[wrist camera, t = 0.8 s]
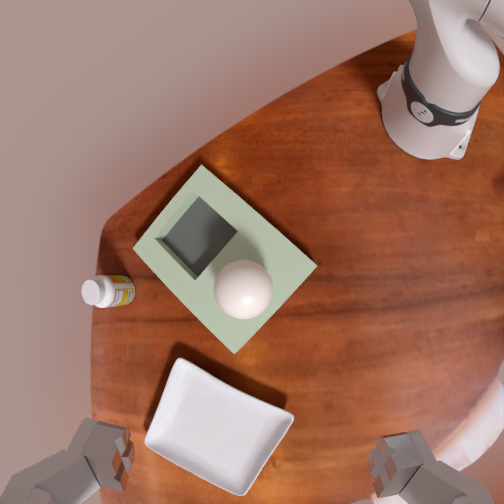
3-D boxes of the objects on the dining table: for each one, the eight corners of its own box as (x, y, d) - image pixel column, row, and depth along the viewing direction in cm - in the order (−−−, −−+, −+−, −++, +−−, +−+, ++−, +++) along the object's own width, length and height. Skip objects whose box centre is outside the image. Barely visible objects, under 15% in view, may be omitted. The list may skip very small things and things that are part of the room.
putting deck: (207, 170, 53) (201, 164, 50) (317, 266, 48) (317, 265, 45) (141, 249, 54) (132, 248, 51) (239, 349, 50) (234, 354, 47)
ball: (248, 249, 47) (234, 244, 40) (288, 286, 46) (282, 289, 38) (213, 289, 48) (192, 292, 40) (251, 326, 46) (238, 336, 39)
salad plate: (149, 438, 52) (141, 445, 49) (184, 351, 52) (175, 355, 48) (246, 489, 48) (242, 499, 44) (298, 406, 47) (296, 415, 44)
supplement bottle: (108, 280, 55) (74, 280, 46) (130, 271, 55) (97, 270, 45) (116, 308, 55) (83, 313, 45) (139, 300, 54) (106, 303, 44)
